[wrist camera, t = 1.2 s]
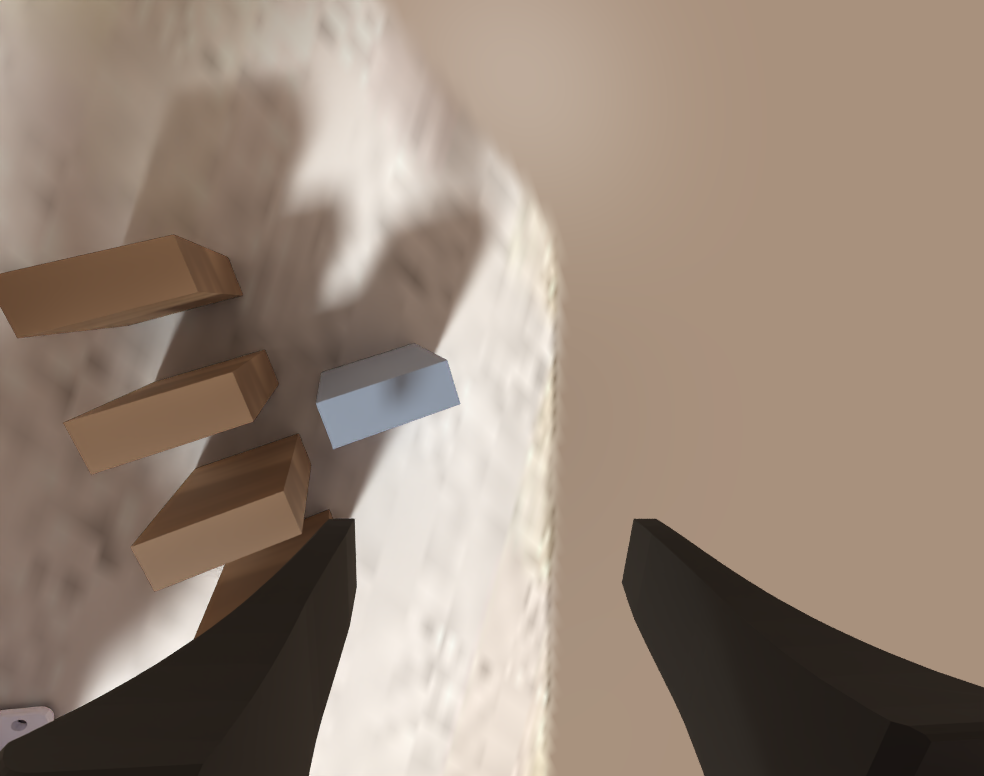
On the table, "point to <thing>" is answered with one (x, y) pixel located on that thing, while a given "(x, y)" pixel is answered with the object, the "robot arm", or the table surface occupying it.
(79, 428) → the domino
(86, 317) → the domino
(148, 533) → the domino
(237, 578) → the domino
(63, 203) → the table surface
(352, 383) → the domino
